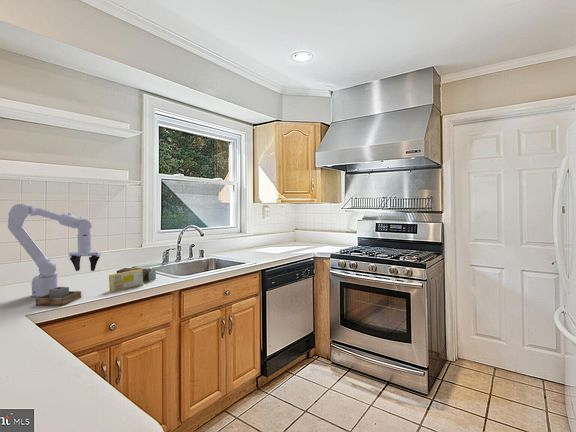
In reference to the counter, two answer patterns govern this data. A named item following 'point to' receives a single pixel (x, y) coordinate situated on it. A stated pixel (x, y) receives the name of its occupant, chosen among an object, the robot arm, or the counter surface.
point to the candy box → (125, 280)
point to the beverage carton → (147, 273)
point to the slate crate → (59, 292)
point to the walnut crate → (58, 299)
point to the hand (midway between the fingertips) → (85, 270)
